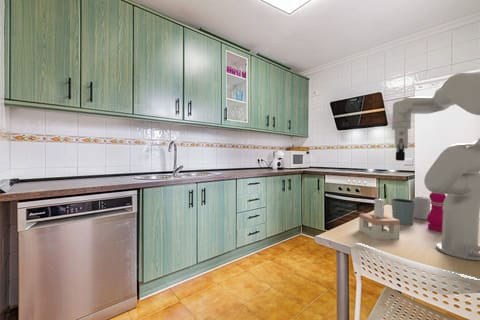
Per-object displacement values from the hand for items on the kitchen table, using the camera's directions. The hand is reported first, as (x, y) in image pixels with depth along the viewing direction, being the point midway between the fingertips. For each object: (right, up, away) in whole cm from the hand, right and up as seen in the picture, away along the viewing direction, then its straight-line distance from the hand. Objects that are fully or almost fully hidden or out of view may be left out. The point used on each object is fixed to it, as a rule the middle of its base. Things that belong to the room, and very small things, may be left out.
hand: (399, 160), depth 110 cm
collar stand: (-18, -34, -11) cm, 40 cm away
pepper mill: (+15, -34, -4) cm, 37 cm away
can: (+22, -33, +14) cm, 42 cm away
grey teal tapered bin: (+6, -34, +6) cm, 35 cm away
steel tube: (-18, -34, -11) cm, 40 cm away
